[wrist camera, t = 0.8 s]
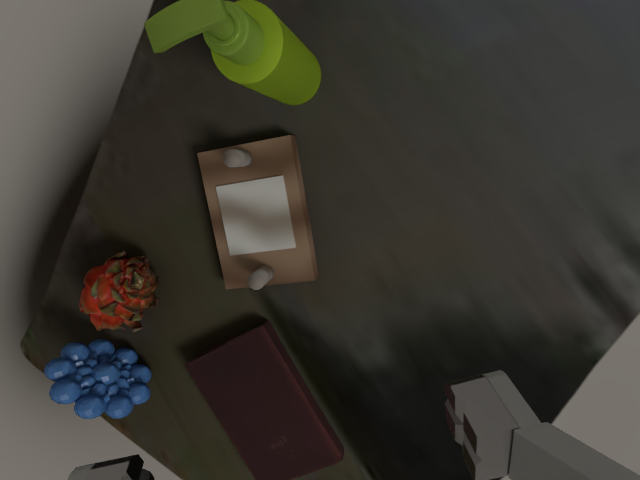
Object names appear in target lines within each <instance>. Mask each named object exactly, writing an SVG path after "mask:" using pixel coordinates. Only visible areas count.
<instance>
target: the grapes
mask: <svg viewBox="0 0 640 480" xmlns="http://www.w3.org/2000/svg"><path fill="white" fill-rule="evenodd" d="M114 351H115V348H114V345H113V344H112V343H111V342H110V341H108V340H105V339H97V340H94V341H92V342H91V343H90V344H89V345H88V346H87V345H85V344H83V343H78V342H73V343H69V344H67V345H65V346H64V347H63V348H62V351H61V354H60V355H61V358H56V359H53V360H51V361H50V362H49V363H47V364H46V367H45V370H44V373H45V375H46V377H47V378H49V379H50V380H52V381H57V382H55V383H54V384H53V385H52V386H51V389H50V392H49V395H50V397H51V399H52V400H53V401H55V402H57V403H58V404H69V403H73V402H75V401H76V402H75V406H74V411H75V413H76V415H78V416H79V417H81V418H83V419H93V418H96V417H98V416H100V415H101V414H102V413H103V412H104V411H105V413H106V414H107V415H108V416H110V417H112V418H123V417H125V416H128V415H129V413H130V412H131V411H132V408H133V404H141V403H144V402H146V401H147V400H148V399H149V397H150V390H149V387H148V386H147V385H146V383H147V382H148V381H149V380H150V379H151V375H152V373H151V370H150V368H149V367H147V366H146V365H142V364H136V363H137V360H138V356H137V353H136V352H135V351H134V350H133V349H130V348H121V349H117V350H116V351H115V352H114ZM135 364H136V365H135Z"/></svg>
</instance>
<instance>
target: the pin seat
mask: <svg viewBox="0 0 640 480" xmlns="http://www.w3.org/2000/svg"><path fill="white" fill-rule="evenodd" d="M197 155H198V160H199V164H200V169H201V174H202V179H203V183H204V188H205V193H206V197H207V202H208V207H209V212H210V216H211V221H212V226H213V230H214V235H215V240H216V244H217V249H218V254H219V259H220V263H221V268H222V273H223V277H224V282H225V287H226V289H234V288H244V287H251V288H252V289H254V290H258V289H260V288H262V287H263V286H264V285H275V284H285V283H295V282H305V281H315V280H316V279H317V277H318V276H319V273H318V267H317V261H316V255H315V249H314V243H313V238H312V232H311V226H310V220H309V214H308V208H307V202H306V197H305V191H304V185H303V179H302V173H301V167H300V161H299V156H298V150H297V144H296V138H295V136H293V135H287V136H282V137H277V138H272V139H267V140H262V141H257V142H252V143H246V144H241V145H236V146H231V147H226V148H221V149H216V150H211V151H206V152H200V153H197Z"/></svg>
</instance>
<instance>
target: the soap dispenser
mask: <svg viewBox="0 0 640 480" xmlns="http://www.w3.org/2000/svg"><path fill="white" fill-rule="evenodd" d="M144 26H145V29H146V32H147V35H148V37H149V40H150V43H151V46H152V49H153V52H154V53H162V52H164V51H166V50H168V49H169V48H171V47H173V46H174V45H176V44H178V43H180V42H182V41H184V40H187V39H189V38H191V37H193V36H196V35H198V34H200V33H203V36H204V39H205V42H206V44H207V45H208V46H209V48H210V49H211V54H212V57H213V60H214V62H215V64H216V66H217V68H218V69H219V70H220V72H221V73H222V74H223V75H224V76H225V77H227V78H228V79H230V80H232V81H234V82H236V83H238V84H241V85H243V86H245V87H248V88H250V89H252V90H255V91H257V92H259V93H262V94H264V95H266V96H269V97H271V98H273V99H276V100H278V101H280V102H283V103H285V104H288V105H300V104H303V103H305V102H307V101H308V100H310V99H311V98H312V97H313V96H314V95H315V93H316V92H317V90H318V88H319V85H320V81H321V69H320V65H319V63H318V61H317V59H316V57H315V56H314V55H313V54H312V53H311V52H310V51H309V50H308V49H307V47H306V46H305V45H304V44H303V43H302V42H301V41H300V40H299V39H298V38H297V37H296V36H295V35H294V34H293V33H292V32H291V31H290V29H289V28H288V27H287V26H286V25H285V24H284V23H283V22H282V21H281V20H280V19H279V18H278V17H277V16H276V15H275V14H274V13H273V11H272V10H271V9H269V8H268V7H267V6H266V5H264V4H262V3H260V2H258V1H254V0H240V1H237V2H231V1H223V0H180V1H177V2H175V3H173V4H172V5H170V6H168V7H166V8H164V9H163V10H161V11H160V12H158V13H157V14H155V15H154V16H152V17H151V18H150V19H148V20H147V21H146V22H145V23H144Z"/></svg>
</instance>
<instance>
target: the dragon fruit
mask: <svg viewBox="0 0 640 480" xmlns="http://www.w3.org/2000/svg"><path fill="white" fill-rule="evenodd" d="M127 257H128V254H127V253H126V252H125V251H121V252H120V253H118V254H116V255H114V256H112V257H110V258H109V259H107V260H106V261H105V264H104V265H102V266H101V265H99V266H96V267H94V268H92V269H91V270H89V271H88V272H87V274H86V275H85V277H84V280H83V282H84V283H83V285H84V286H85V288H84V289H83V290H82V294H81V299H80V303H79V307H80V311H81V312H85V314H87V315H89V316H90V320H91V322H92V323H93V324H94V325H95V327H96V330H97V331H104V330H103V329H107V328H109V329H112V330H115V329H121V330H122V331H124V332H125V331H126V328H124V327H122V326H120V325H121V324H122V323H123V322H124V323H125V324H126V325H127V326H129V327H131V328H134V329H132V330H131V332H136V331H138V330H140V329H142V328H143V327H142V326H141V324H140V322H138V320H141V319H142V317H143V313H142V308H150V307H155V306H157V304H158V302H159V298H157V297H156V296H155V294H154V293H153V291H154V290H155V289H156V288H157V286H158V285H159V277H158V276H156V275H155V274H154V273H153V272H152V271H151V270H150V269H149V265H150V261H149V260H148V259H147V258H146V257H145V256H137V257H132V258H131V259H128V258H127ZM103 334H104V333H103ZM108 336H109V335H108Z"/></svg>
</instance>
